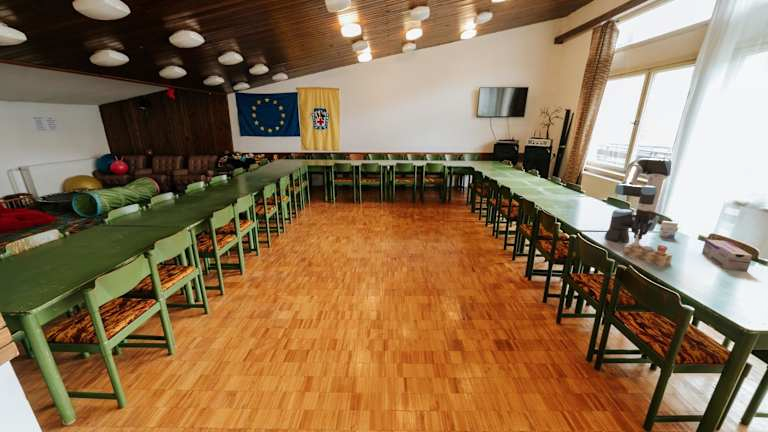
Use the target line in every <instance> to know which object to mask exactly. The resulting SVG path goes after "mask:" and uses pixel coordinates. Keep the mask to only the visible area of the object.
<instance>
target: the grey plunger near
mask: <svg viewBox="0 0 768 432" xmlns="http://www.w3.org/2000/svg"><path fill="white" fill-rule="evenodd" d="M631 244H632V247H634V248H637V249H638V248H639V247H640V246H642V244H640V242H639V243H638V244H634V242H631Z"/></svg>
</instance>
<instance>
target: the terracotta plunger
mask: <svg viewBox="0 0 768 432" xmlns="http://www.w3.org/2000/svg"><path fill="white" fill-rule="evenodd" d="M657 250H658V251H657V254H658V255H661V256H665V253H667V252H666V251H668V247H667V246H666V245H657Z"/></svg>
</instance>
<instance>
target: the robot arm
mask: <svg viewBox="0 0 768 432" xmlns="http://www.w3.org/2000/svg"><path fill="white" fill-rule="evenodd" d="M625 169H626V170H625V171H626V173H625V175H624V177H623V178H622V181H621V183H617V184H616V185H615V188H614V189H615V190H614V194H616V195H618V196H629V197H636V198H639V199H638V203H637V209H636V211H635V212H634V211H633V210H632V209H627V208H626V209H625V208H620V209H619V208H618V209H614V210H613V211H612V213H611V220H610V223H609V228H608V230H607V231H606V233H605V235H604V238H605V239H606V240H608V241H611V242H615V243H628V242H629V241H630V233H629V229H631V233H633V234H634V235H633V239H634V242H633V243H634V244H638V243H639V244H640V240H642V238H643V236H646V235H647V233H649V232H653V231H654V230H655V228H656V227H657V224H658V221H659V220H660V216H659V215H658V213H657V212H656V210H657V205H658V202H659V198H660V194H661V190H662V187H663V183H664V181H665V180H666V179H667V177H670V176H671V169H672V160H671V159H668V158H667V159H666V158H647V157H644V158H639V159H636V160H634V161H631V163H629V164H628V165H627V167H626V168H625ZM641 174H642V175H645V177H646V178H647V180H646V181H647V182H646V185H636V183H637V181H638V178H639V176H640V175H641Z"/></svg>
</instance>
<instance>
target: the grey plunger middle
mask: <svg viewBox="0 0 768 432" xmlns="http://www.w3.org/2000/svg"><path fill="white" fill-rule="evenodd" d="M643 246H644V251H648V252H651V251H653V249H654V247H652V246H649V245H643Z"/></svg>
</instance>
